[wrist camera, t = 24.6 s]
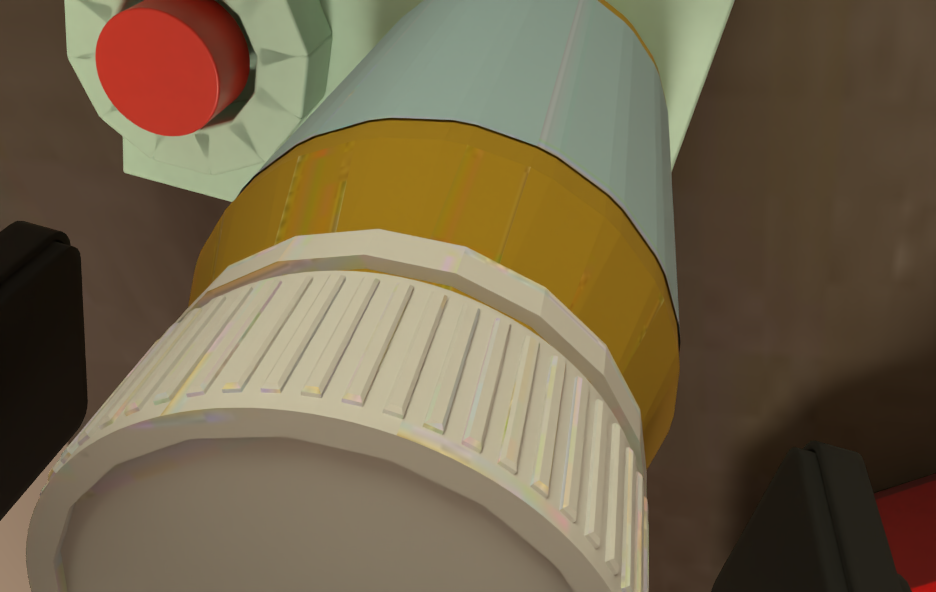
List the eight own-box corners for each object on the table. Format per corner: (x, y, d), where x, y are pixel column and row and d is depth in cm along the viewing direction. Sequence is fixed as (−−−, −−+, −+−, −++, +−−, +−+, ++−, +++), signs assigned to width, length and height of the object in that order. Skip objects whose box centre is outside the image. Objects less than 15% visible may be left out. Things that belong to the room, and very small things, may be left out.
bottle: (718, 24, 19) (851, 543, 7) (601, 280, 23) (543, 916, 10) (416, -83, 19) (-33, 235, 7) (349, 191, 23) (-14, 724, 10)
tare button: (255, 6, 19) (223, 26, 18) (246, 123, 21) (216, 151, 19) (134, -26, 19) (91, -8, 18) (134, 93, 21) (96, 119, 19)
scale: (743, -47, 19) (758, -17, 17) (622, 285, 24) (619, 347, 22) (128, -204, 20) (53, -198, 17) (131, 153, 25) (73, 198, 22)
